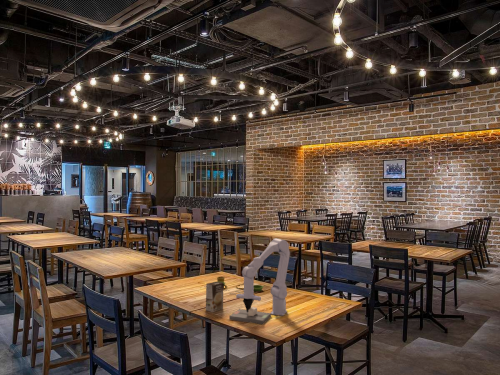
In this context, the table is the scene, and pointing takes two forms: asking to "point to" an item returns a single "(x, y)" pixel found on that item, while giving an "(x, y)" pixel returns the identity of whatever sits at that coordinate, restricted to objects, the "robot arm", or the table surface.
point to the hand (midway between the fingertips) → (248, 311)
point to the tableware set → (221, 279)
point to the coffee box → (214, 296)
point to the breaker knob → (252, 311)
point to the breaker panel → (250, 317)
